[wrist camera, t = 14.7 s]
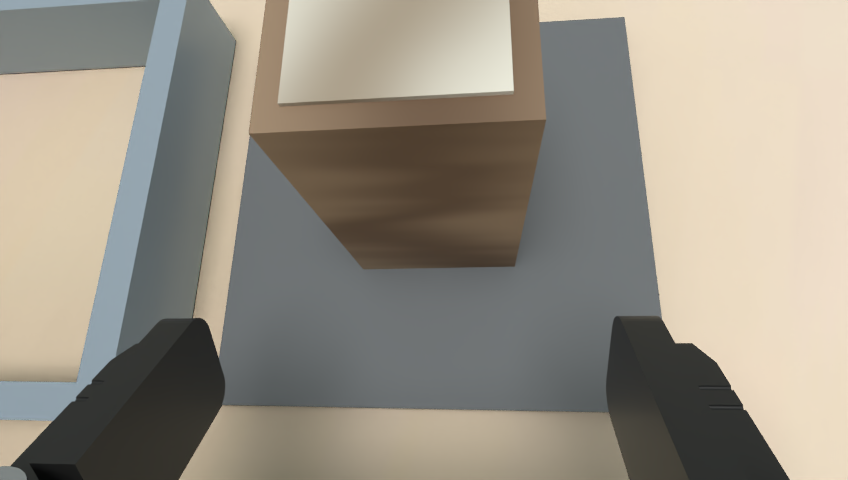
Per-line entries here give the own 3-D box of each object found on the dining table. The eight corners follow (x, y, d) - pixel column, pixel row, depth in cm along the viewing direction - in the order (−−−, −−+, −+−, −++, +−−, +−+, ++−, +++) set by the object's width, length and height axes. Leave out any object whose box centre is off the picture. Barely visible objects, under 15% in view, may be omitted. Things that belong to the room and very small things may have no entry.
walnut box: (363, 269, 17) (245, 130, 9) (369, 136, 19) (275, -91, 10) (515, 266, 17) (547, 116, 8) (508, 130, 18) (530, -116, 10)
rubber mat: (221, 404, 17) (212, 404, 17) (269, 48, 21) (263, 39, 21) (666, 413, 16) (673, 413, 15) (620, 28, 20) (624, 17, 19)
